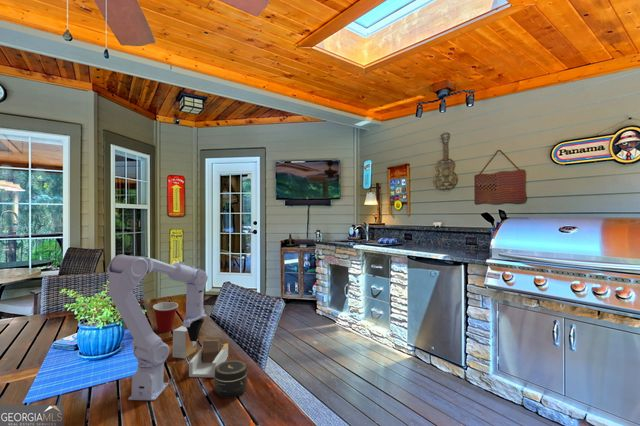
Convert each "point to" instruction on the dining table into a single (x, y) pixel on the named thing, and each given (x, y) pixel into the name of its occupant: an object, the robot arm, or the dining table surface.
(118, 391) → the dining table surface
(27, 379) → the dining table surface
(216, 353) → the walnut block
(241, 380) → the jar
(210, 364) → the grey chute
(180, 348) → the small box
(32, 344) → the dining table surface
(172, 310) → the plastic cup
